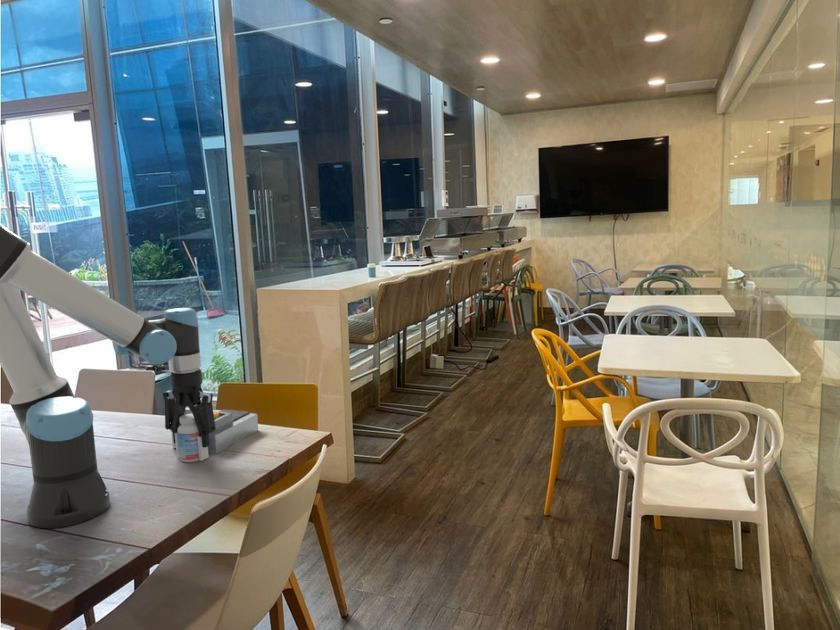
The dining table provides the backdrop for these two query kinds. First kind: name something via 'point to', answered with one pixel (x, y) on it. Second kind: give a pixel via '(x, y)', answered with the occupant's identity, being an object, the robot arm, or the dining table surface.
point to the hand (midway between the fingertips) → (192, 457)
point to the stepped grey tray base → (230, 429)
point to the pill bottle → (188, 439)
